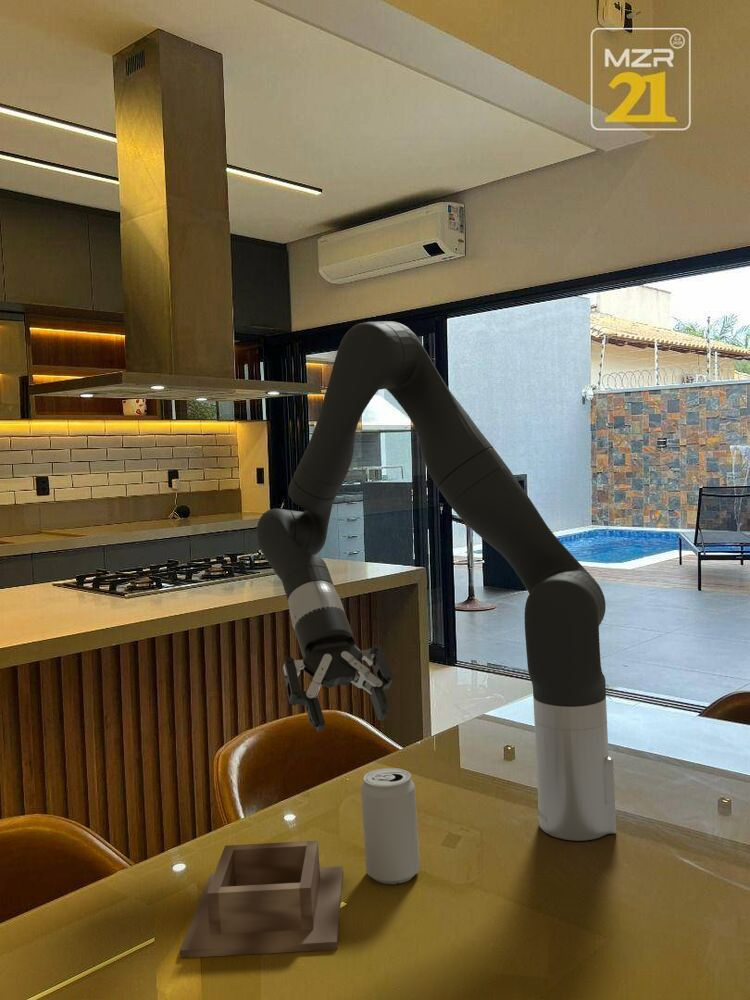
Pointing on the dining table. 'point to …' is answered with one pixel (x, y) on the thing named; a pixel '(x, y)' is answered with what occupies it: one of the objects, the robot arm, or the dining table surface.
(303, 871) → the well
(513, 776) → the dining table surface
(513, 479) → the robot arm
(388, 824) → the beverage can
